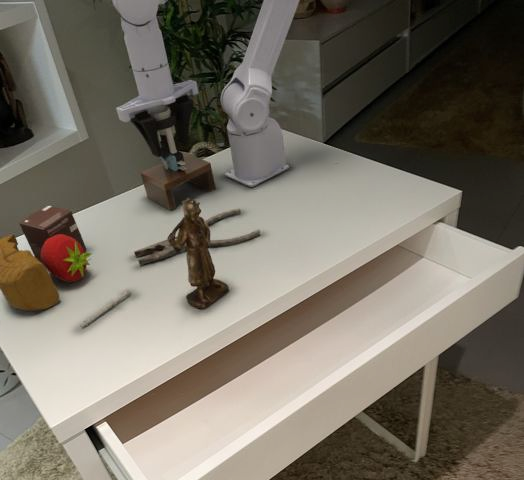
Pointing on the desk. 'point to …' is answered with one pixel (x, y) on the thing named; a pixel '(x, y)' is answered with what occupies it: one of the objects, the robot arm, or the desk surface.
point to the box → (49, 228)
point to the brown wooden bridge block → (176, 179)
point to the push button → (168, 138)
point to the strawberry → (64, 258)
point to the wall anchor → (104, 309)
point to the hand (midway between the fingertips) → (170, 149)
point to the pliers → (169, 249)
